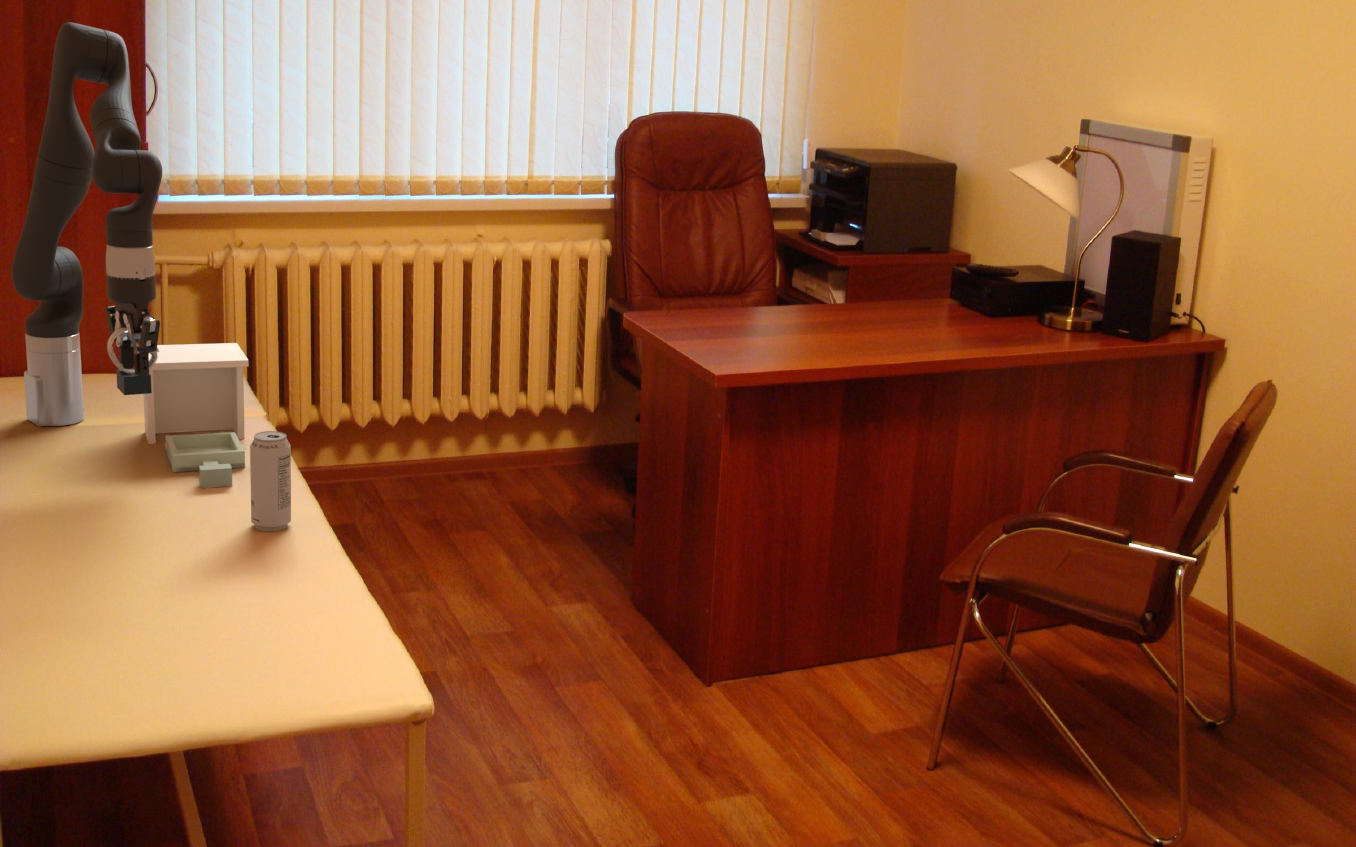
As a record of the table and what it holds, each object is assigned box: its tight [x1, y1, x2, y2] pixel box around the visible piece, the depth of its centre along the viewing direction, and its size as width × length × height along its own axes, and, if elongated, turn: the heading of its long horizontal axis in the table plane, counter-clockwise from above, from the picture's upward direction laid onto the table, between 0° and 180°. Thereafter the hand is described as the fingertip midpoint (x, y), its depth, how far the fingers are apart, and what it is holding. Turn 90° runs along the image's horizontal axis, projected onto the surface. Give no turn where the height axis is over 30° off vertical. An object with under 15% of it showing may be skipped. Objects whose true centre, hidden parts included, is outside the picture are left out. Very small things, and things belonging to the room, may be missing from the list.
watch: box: [106, 327, 159, 396], centre depth 216 cm, size 6×8×11 cm
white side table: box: [143, 342, 250, 445], centre depth 238 cm, size 14×17×17 cm
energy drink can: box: [249, 430, 292, 532], centre depth 200 cm, size 6×6×15 cm
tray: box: [165, 431, 246, 489], centre depth 225 cm, size 22×12×3 cm, turn 27°
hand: (134, 371), depth 216 cm, fingers closed on watch, 4 cm apart
